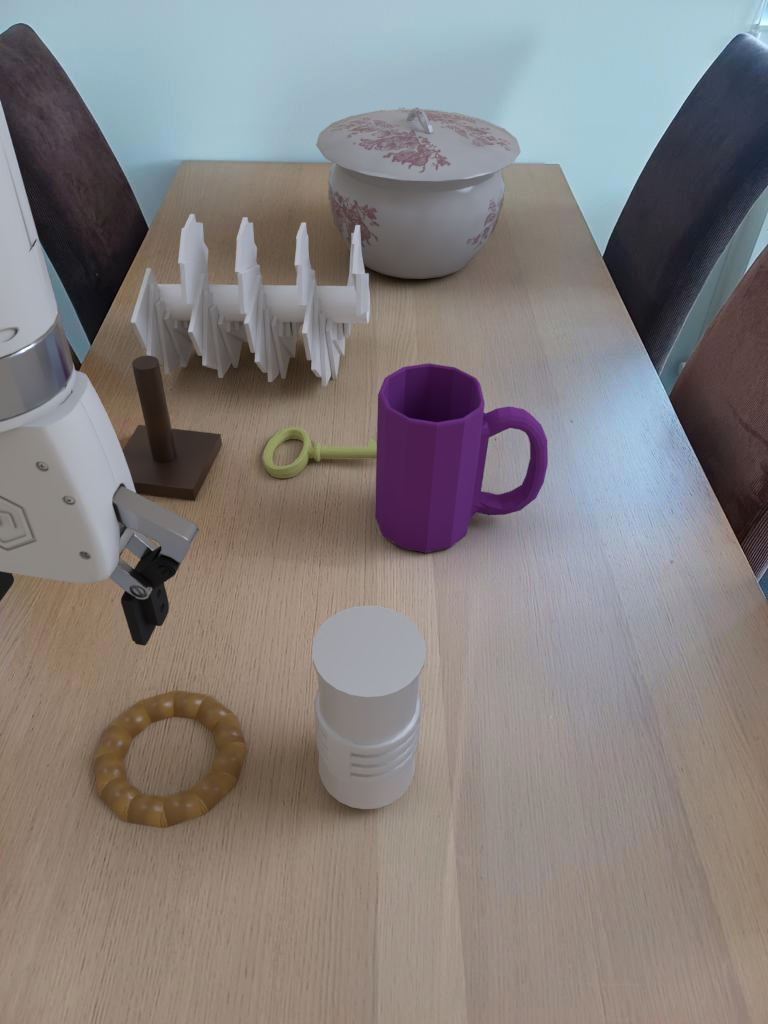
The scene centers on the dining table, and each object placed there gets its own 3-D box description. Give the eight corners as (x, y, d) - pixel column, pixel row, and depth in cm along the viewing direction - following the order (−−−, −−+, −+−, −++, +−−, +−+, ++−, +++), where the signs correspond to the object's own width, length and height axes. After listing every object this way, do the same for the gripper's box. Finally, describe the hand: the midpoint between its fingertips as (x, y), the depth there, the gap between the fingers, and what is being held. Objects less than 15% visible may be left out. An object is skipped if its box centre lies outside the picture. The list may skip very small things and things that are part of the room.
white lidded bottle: (298, 793, 57) (286, 664, 46) (352, 721, 61) (352, 588, 51) (381, 844, 54) (387, 719, 44) (431, 765, 58) (447, 634, 48)
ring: (73, 819, 55) (66, 805, 53) (131, 692, 62) (126, 677, 61) (221, 843, 54) (217, 829, 52) (261, 712, 61) (259, 696, 60)
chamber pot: (450, 323, 105) (464, 160, 91) (282, 269, 116) (271, 115, 102) (536, 246, 123) (559, 100, 109) (384, 206, 133) (387, 67, 119)
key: (385, 467, 83) (385, 451, 82) (265, 482, 81) (264, 465, 80) (371, 426, 88) (371, 410, 87) (259, 439, 86) (257, 423, 85)
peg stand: (107, 490, 80) (77, 383, 71) (141, 435, 86) (117, 332, 78) (195, 500, 79) (175, 394, 70) (222, 445, 85) (207, 341, 77)
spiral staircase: (181, 370, 103) (375, 374, 101) (128, 390, 86) (360, 395, 84) (171, 218, 98) (376, 219, 96) (113, 209, 81) (360, 210, 79)
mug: (373, 490, 81) (376, 362, 70) (526, 489, 81) (551, 361, 71) (376, 556, 74) (380, 424, 64) (543, 554, 75) (573, 423, 64)
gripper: (-258, 382, 34) (-102, 637, 45) (128, 437, 32) (189, 690, 43) (-140, 298, 39) (-27, 545, 51) (196, 340, 37) (234, 588, 49)
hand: (72, 612), depth 47 cm, fingers open, 9 cm apart
